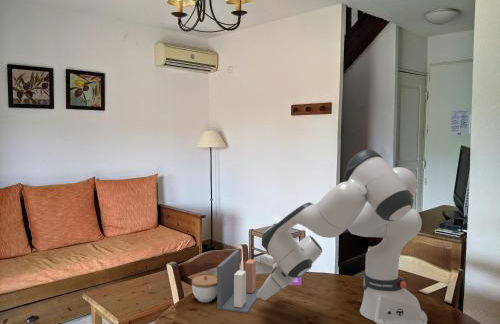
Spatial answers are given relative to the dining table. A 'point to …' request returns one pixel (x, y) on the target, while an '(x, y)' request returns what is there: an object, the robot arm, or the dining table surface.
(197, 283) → the lidded jar
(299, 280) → the bracket
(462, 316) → the dining table surface
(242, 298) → the white rectangular block
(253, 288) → the salmon pink block
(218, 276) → the gray bookend
